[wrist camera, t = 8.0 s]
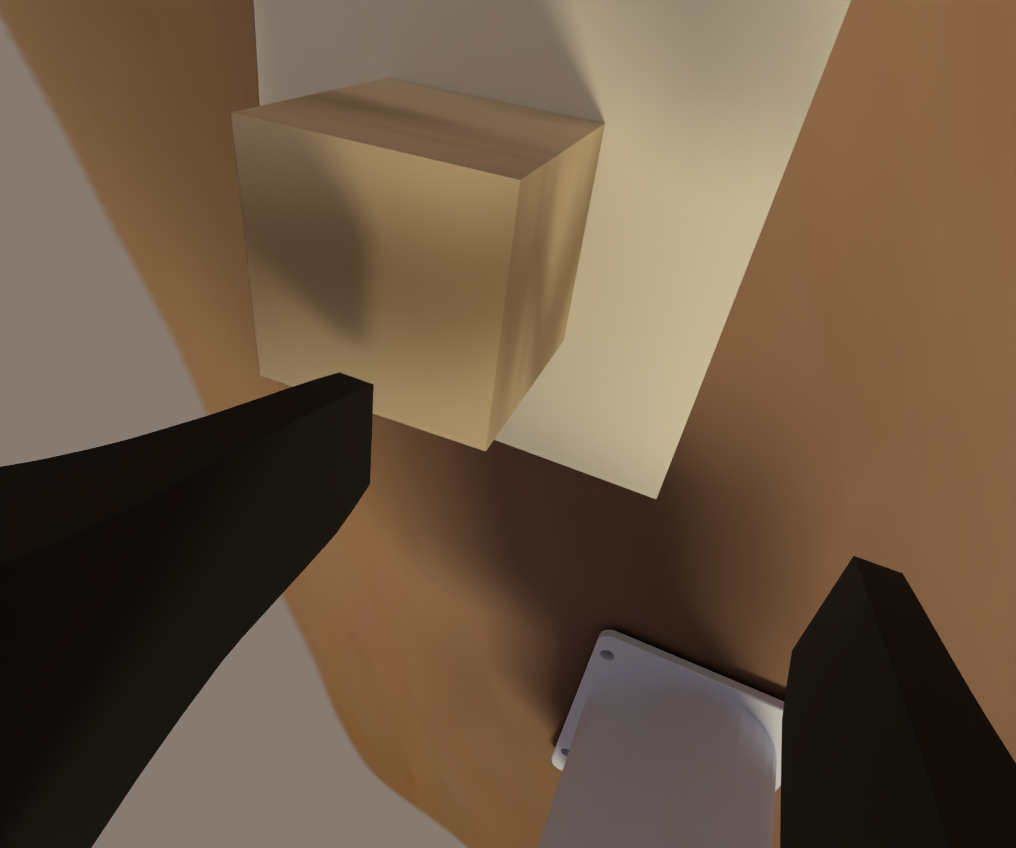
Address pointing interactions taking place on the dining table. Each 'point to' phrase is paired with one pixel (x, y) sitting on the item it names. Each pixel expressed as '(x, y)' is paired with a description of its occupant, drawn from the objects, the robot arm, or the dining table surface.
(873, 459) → the dining table surface
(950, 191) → the dining table surface
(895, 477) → the dining table surface
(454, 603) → the dining table surface
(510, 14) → the beige block
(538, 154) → the maple cube
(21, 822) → the robot arm
